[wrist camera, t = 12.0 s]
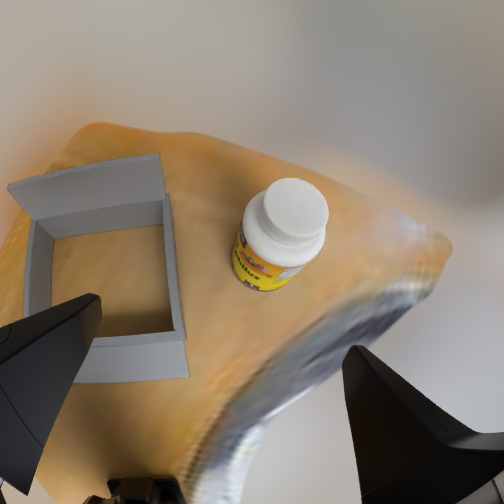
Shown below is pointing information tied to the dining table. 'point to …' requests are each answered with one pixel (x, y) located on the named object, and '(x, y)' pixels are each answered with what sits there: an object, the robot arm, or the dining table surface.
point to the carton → (94, 221)
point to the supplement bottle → (279, 234)
